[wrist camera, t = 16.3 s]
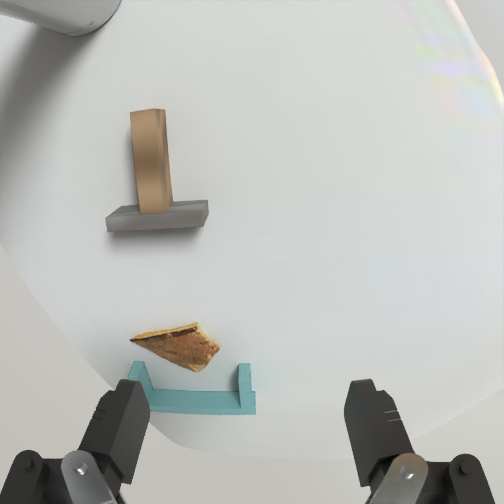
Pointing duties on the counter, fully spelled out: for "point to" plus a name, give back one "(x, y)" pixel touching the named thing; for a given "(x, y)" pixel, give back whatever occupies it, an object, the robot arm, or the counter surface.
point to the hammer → (154, 182)
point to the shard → (181, 346)
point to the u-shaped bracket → (198, 396)
